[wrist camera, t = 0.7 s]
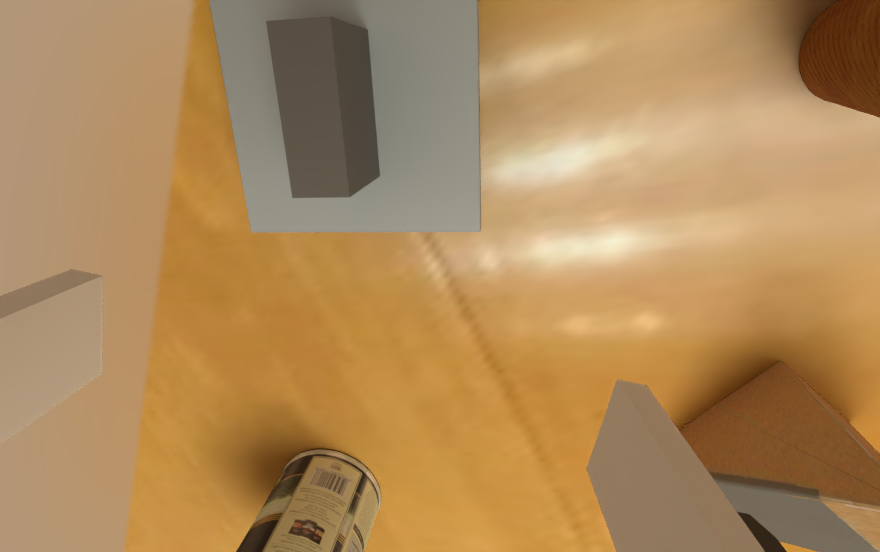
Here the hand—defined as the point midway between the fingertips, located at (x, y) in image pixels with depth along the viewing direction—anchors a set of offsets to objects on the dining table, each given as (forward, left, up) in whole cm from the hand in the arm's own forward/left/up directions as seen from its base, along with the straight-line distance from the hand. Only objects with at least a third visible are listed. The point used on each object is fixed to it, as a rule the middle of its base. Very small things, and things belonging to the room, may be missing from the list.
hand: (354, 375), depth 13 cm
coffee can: (+14, +30, -26) cm, 42 cm away
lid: (+6, -6, -20) cm, 22 cm away
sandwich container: (-22, +22, -27) cm, 41 cm away
